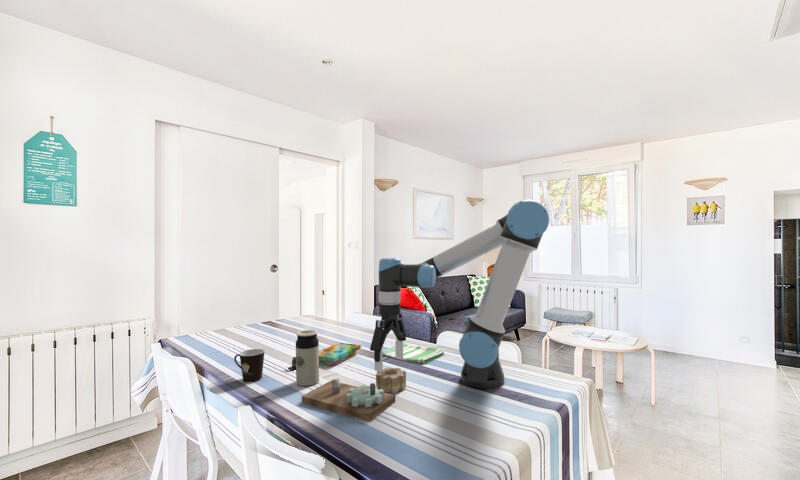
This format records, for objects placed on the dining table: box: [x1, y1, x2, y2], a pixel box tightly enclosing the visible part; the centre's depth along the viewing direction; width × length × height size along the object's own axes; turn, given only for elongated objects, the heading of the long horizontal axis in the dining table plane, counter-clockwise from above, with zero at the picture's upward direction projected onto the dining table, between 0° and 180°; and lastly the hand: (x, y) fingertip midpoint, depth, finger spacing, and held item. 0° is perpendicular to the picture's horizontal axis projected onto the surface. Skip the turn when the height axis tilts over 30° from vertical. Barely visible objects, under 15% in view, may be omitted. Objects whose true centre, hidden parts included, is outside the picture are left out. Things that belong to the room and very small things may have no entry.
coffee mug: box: [233, 348, 265, 383], centre depth 134 cm, size 12×9×10 cm
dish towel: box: [382, 341, 446, 365], centre depth 159 cm, size 18×23×3 cm
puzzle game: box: [319, 342, 362, 367], centre depth 156 cm, size 12×5×20 cm
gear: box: [346, 382, 384, 407], centre depth 109 cm, size 11×11×5 cm
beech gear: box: [375, 367, 407, 395], centre depth 123 cm, size 10×10×5 cm
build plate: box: [287, 356, 296, 372], centre depth 145 cm, size 12×7×5 cm, turn 131°
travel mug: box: [295, 329, 320, 387], centre depth 129 cm, size 8×8×18 cm
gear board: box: [301, 378, 396, 423], centre depth 112 cm, size 26×14×6 cm, turn 60°
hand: (389, 364), depth 124 cm, fingers open, 13 cm apart
